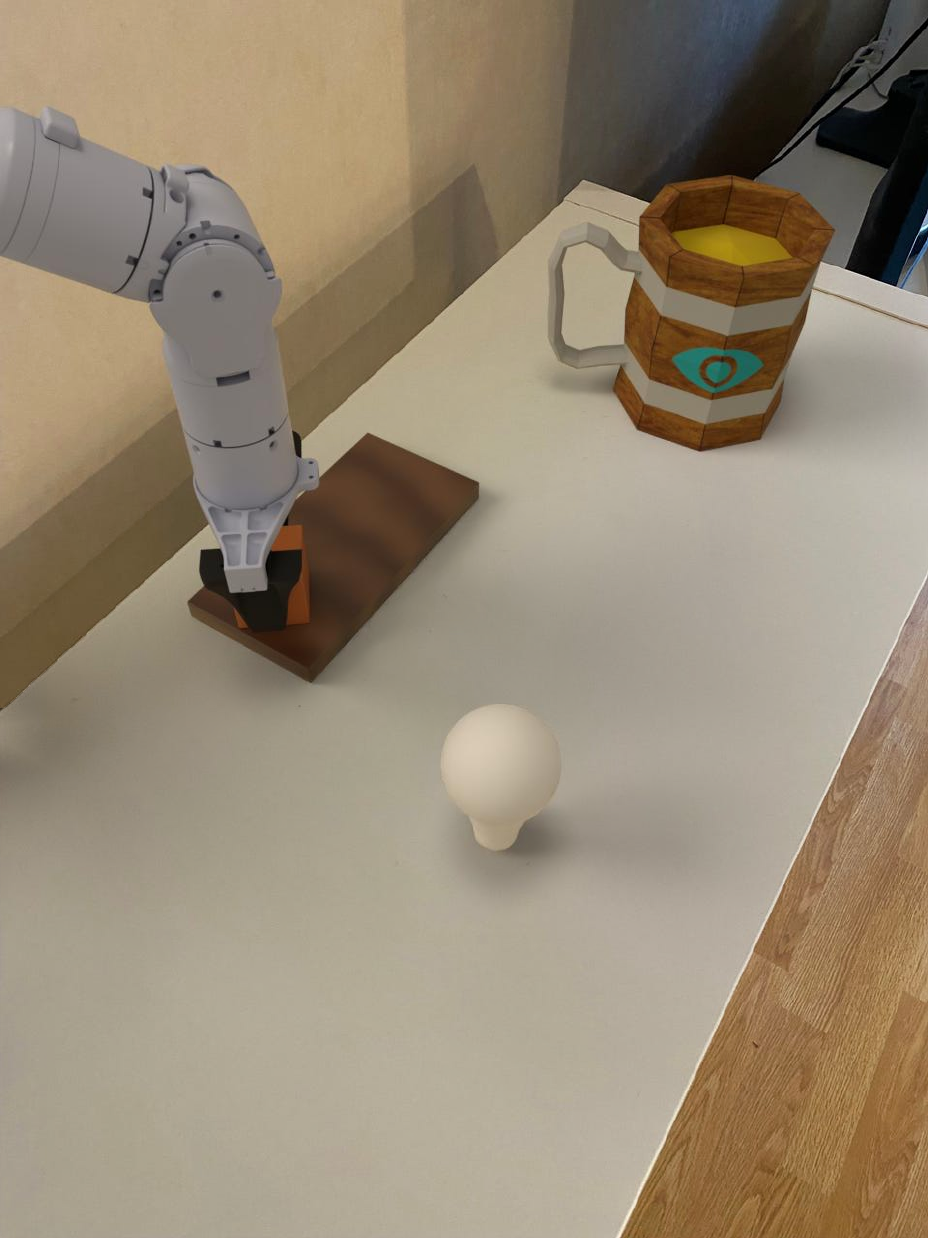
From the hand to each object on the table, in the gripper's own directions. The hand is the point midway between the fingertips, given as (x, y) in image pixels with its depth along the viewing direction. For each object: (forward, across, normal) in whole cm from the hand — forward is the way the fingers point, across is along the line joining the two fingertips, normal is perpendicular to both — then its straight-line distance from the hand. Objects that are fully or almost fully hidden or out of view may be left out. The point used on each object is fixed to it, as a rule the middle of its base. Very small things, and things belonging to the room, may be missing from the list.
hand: (269, 580), depth 65 cm
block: (+2, 0, 0) cm, 2 cm away
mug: (+4, +20, -30) cm, 37 cm away
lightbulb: (+4, -18, -12) cm, 22 cm away
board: (+3, +5, -4) cm, 8 cm away
